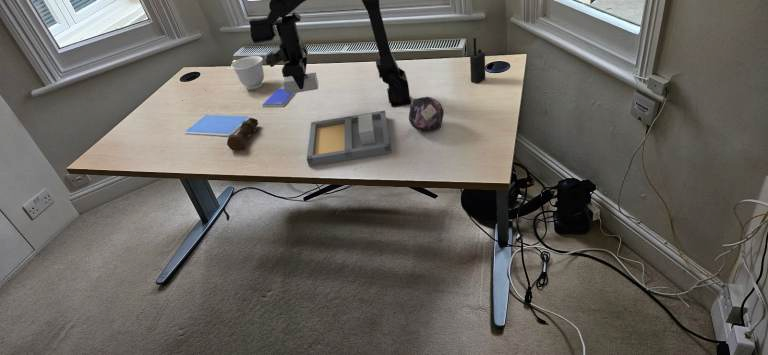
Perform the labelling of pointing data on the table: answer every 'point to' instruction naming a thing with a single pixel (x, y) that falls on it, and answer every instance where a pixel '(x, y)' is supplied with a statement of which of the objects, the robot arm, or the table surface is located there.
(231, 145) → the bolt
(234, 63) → the teacup
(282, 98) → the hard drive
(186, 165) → the table surface
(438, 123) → the mineral specimen
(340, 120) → the grey divided tray
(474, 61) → the walkie-talkie
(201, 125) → the light blue book
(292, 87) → the block
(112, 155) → the table surface
